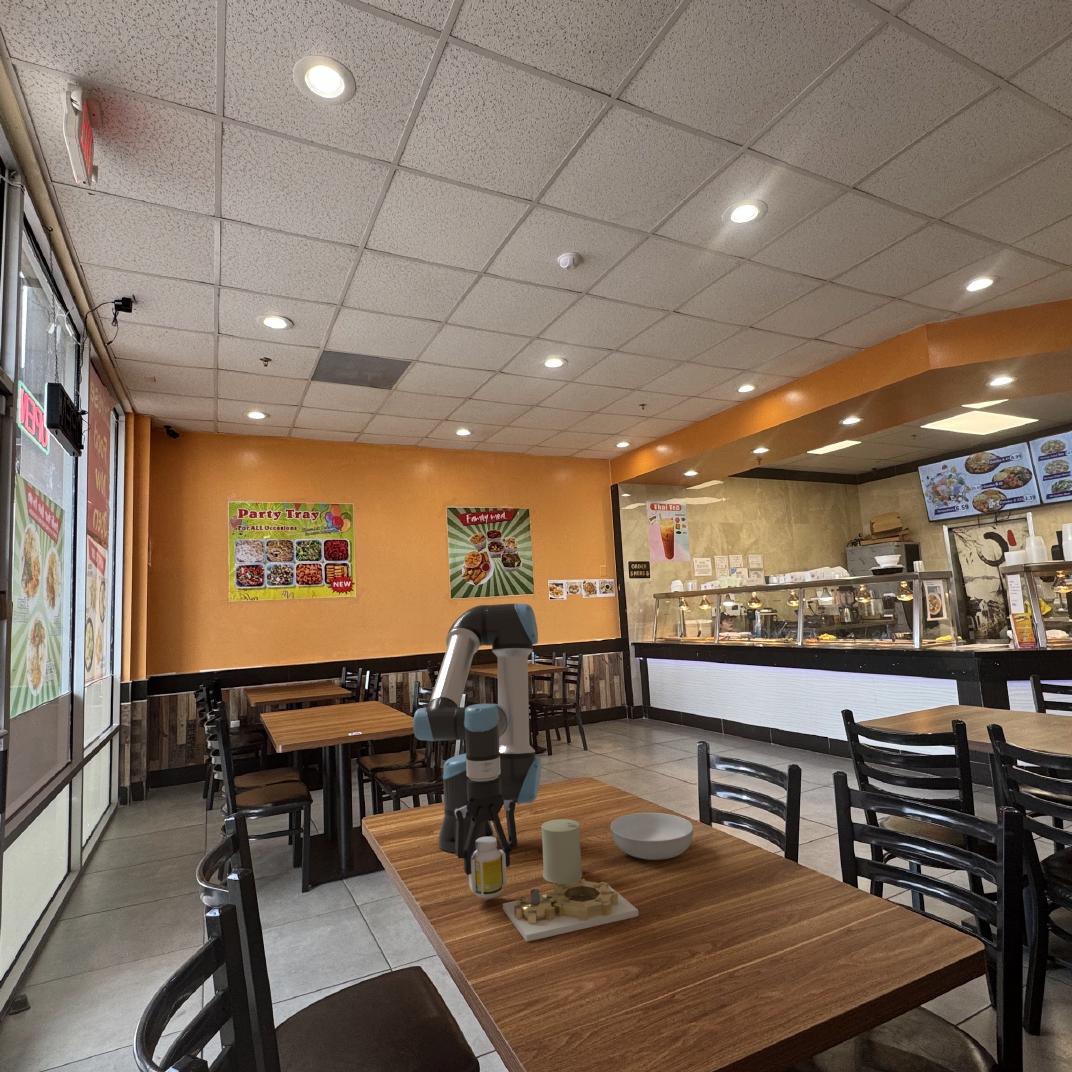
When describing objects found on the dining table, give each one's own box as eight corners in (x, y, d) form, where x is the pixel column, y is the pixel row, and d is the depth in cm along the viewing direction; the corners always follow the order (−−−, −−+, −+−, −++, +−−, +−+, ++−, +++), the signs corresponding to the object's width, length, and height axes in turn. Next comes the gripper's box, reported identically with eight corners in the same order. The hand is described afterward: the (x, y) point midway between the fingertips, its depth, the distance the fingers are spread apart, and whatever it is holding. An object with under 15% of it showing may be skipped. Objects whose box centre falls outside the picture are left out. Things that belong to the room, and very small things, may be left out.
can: (579, 885, 150) (576, 830, 152) (539, 883, 152) (537, 829, 153) (584, 869, 159) (582, 817, 161) (547, 867, 161) (544, 816, 162)
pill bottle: (506, 887, 146) (504, 836, 147) (496, 900, 140) (494, 846, 141) (480, 885, 148) (479, 833, 149) (469, 897, 142) (467, 844, 143)
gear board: (503, 909, 140) (502, 903, 140) (605, 888, 148) (605, 882, 148) (526, 941, 126) (526, 935, 126) (638, 916, 134) (638, 909, 134)
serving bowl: (601, 864, 162) (600, 835, 162) (623, 836, 181) (622, 809, 182) (687, 874, 154) (685, 843, 155) (700, 842, 173) (699, 815, 174)
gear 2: (538, 896, 142) (537, 887, 142) (598, 884, 147) (597, 875, 147) (563, 925, 129) (563, 914, 129) (629, 911, 134) (628, 900, 134)
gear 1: (509, 909, 137) (508, 887, 137) (548, 901, 140) (547, 879, 140) (522, 927, 129) (521, 903, 130) (563, 918, 132) (562, 894, 133)
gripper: (444, 787, 139) (448, 902, 137) (530, 774, 146) (535, 883, 144) (437, 778, 146) (440, 887, 144) (519, 766, 153) (523, 870, 151)
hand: (487, 885), depth 144 cm, fingers closed on pill bottle, 6 cm apart
